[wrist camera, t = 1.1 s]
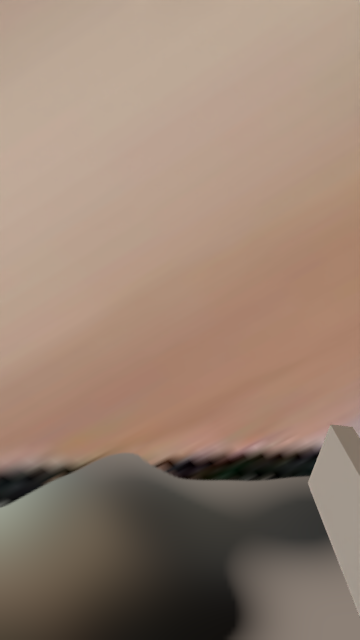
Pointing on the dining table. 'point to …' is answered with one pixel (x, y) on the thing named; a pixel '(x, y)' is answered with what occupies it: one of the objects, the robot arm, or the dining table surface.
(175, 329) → the dining table surface
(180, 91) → the dining table surface
